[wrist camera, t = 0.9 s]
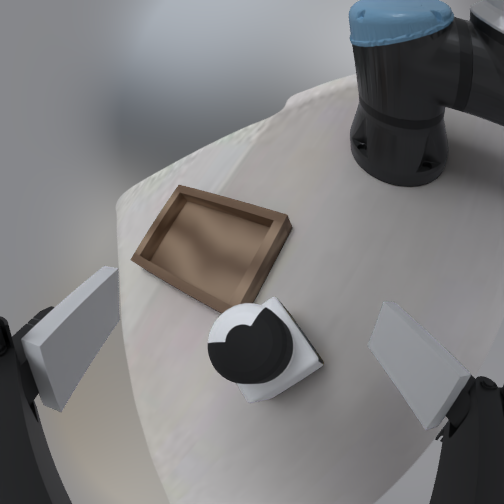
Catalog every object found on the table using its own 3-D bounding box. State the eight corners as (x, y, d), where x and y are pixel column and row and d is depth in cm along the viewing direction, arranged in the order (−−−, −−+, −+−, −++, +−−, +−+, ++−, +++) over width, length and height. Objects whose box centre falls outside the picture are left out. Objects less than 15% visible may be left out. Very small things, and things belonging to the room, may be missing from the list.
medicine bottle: (325, 364, 27) (313, 355, 17) (269, 400, 27) (224, 409, 17) (289, 312, 31) (258, 274, 21) (237, 347, 31) (182, 327, 21)
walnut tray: (188, 195, 44) (178, 184, 41) (292, 227, 36) (287, 214, 33) (142, 267, 41) (130, 259, 38) (241, 323, 32) (231, 318, 30)
